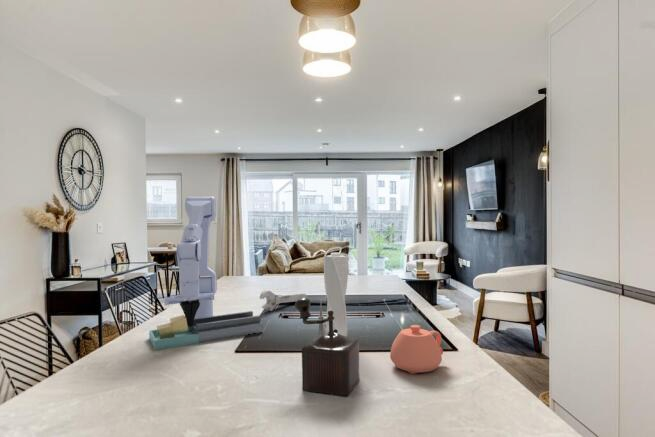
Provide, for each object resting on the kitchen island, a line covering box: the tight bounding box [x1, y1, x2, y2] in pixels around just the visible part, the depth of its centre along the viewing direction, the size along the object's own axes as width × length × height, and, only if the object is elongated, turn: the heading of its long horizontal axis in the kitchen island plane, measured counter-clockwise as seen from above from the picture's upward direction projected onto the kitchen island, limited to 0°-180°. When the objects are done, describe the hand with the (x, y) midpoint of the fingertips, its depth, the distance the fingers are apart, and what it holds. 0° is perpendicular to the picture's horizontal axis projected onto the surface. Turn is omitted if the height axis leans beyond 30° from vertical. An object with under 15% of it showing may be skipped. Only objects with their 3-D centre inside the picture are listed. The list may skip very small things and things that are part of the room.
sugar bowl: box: [389, 324, 444, 375], centre depth 102 cm, size 12×14×10 cm
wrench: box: [259, 290, 307, 312], centre depth 171 cm, size 8×2×30 cm
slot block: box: [190, 310, 264, 344], centre depth 133 cm, size 12×20×5 cm, turn 120°
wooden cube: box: [169, 314, 188, 334], centre depth 126 cm, size 4×4×4 cm
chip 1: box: [156, 322, 175, 340], centre depth 124 cm, size 4×4×4 cm
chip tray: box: [148, 327, 200, 351], centre depth 125 cm, size 12×12×2 cm
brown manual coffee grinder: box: [294, 297, 360, 398], centre depth 93 cm, size 16×11×18 cm
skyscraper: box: [317, 246, 349, 337], centre depth 123 cm, size 8×8×28 cm
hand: (190, 325), depth 127 cm, fingers closed
